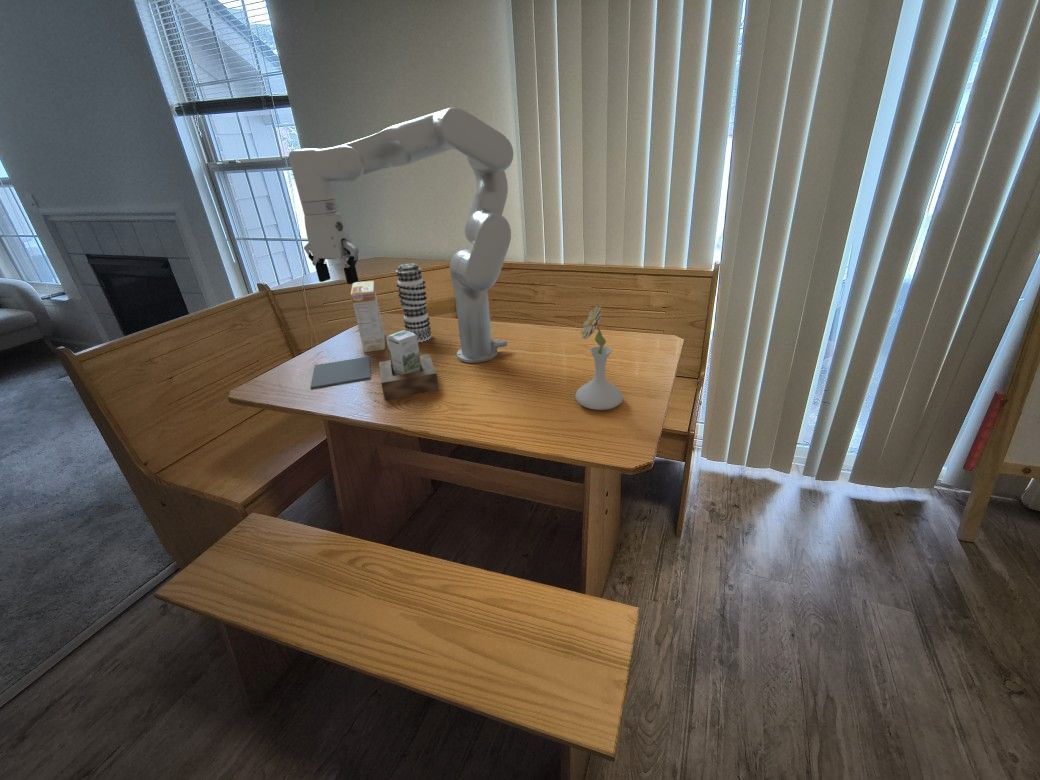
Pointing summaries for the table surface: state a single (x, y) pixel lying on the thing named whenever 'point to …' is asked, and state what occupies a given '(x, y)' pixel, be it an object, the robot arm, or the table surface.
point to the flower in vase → (598, 371)
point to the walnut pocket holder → (408, 380)
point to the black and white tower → (413, 301)
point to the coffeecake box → (368, 316)
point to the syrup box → (404, 352)
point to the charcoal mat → (341, 372)
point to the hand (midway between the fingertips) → (338, 281)
